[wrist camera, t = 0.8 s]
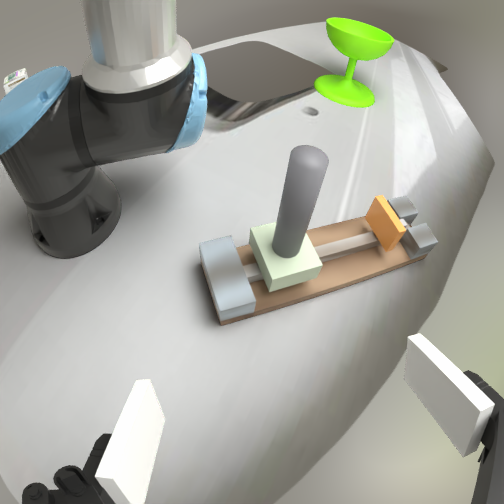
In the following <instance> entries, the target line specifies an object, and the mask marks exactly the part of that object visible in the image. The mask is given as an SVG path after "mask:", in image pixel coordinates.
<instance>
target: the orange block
mask: <svg viewBox="0 0 504 504" xmlns="http://www.w3.org/2000/svg"><path fill="white" fill-rule="evenodd" d="M365 219H366V221H367V222H368V224H369V225H370V227H371V229H372V230H373V232H374V233H375V235H376V237H377V238H378V240H379V242H380V243H381V245H382V247H383V248H384V250H385V252H388V251H391V250H393V249H394V247H395V246H396V244H397V243H398V242H399V240H400V239H401V237H402V236H403V234H404V233H405V232H406V229H405V228H406V227H407V223H406V222H405V220H404V219H400V220H399V218H398V217H397V215H396V214H395V212H394V211H393V210H392V208H391V207H390V205H389V204H388V202H387V201H386V199H385V198H384V197H383V195H380V196H376V197H375V199H374V201H373V203H372V205H371V207H370V209H369V211H368V212H367V214H366V216H365Z"/></svg>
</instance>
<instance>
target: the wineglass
mask: <svg viewBox="0 0 504 504" xmlns="http://www.w3.org/2000/svg"><path fill="white" fill-rule="evenodd" d="M326 30H327V34H328V37H329V39H330V40H331V42H332V44H333V45H334V46H335V47H336V48H337V49H338V50H339V51H340V52H341V53H342V54H344V55H346V56H348V57H350V58H349V62H348V65H347V69H346V73H345V76H340V75H323V76H320V77H319V78H317V79H316V80H315V82H314V87H315V89H316V90H317V91H318V92H319V93H320V94H322V95H323V96H324V97H326V98H328V99H330V100H332V101H334V102H337V103H339V104H343V105H346V106H351V107H362V108H363V107H369V106H371V105H373V104H374V102H375V98H374V95H373V93H372V91H371V90H370V89H369V88H368V87H366V86H365V85H364V84H362V83H360V82H358V81H356V80H354V79H352V77H353V73H354V70H355V66H356V62H357V60H364V61H368V60H373V59H377V58H379V57H381V56H383V55H385V54H386V52H387V51H388V50H389V49H390V48H391V47H392V45H393V42H394V39H393V37H392V36H390V35H389V34H387V33H386V32H384V31H382V30H380V29H378V28H376V27H373V26H371V25H368V24H365V23H362V22H359V21H355V20H350V19H344V18H329V19H327V21H326Z"/></svg>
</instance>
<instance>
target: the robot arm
mask: <svg viewBox="0 0 504 504" xmlns="http://www.w3.org/2000/svg"><path fill="white" fill-rule="evenodd" d="M80 1H81V6H82V12H83V17H84V21H85V26H86V31H87V35H88V40H89V44H90V48H91V52H92V53H91V54H90V56H89V57H88V58H87V60H86V61H85V63H84V65H83V68H82V75H79V76H75V77H71V74H70V71H68V70H67V68H66V67H64V66H59V67H56V66H55V67H51V68H48V69H45V70H43V71H41V72H38V73H36V74H34V75H33V76H31V77H29V78H28V79H26V80H24V81H23V82H21V83H20V84H19V85H17V86H16V87H15V88H13V89H12V90H11V91H10V92H9V93H8V94H7V95H5V96H4V98H3V99H2V100H1V101H0V160H1V162H2V164H3V166H4V168H5V169H6V171H7V173H8V175H9V177H10V178H11V180H12V182H13V183H14V185H15V187H16V189H17V190H18V192H19V194H20V195H21V197H22V198H23V200H24V202H25V204H26V206H27V211H28V216H29V221H30V226H31V231H32V234H33V236H34V238H35V240H36V241H37V243H38V244H39V246H40V247H41V248H42V249H43V250H44V251H45V252H46V253H47V254H49V255H51V256H54V257H58V258H71V257H76V256H79V255H82V254H85V253H87V252H89V251H91V250H92V249H94V248H96V247H97V246H98V245H100V244H101V243H102V242H103V241H104V240H105V239H106V238H107V237H108V236H109V235H110V234H111V232H112V231H113V230H114V228H115V226H116V225H117V223H118V220H119V217H120V214H121V200H120V197H119V194H118V191H117V189H116V187H115V185H114V183H113V182H112V181H111V180H110V179H109V177H108V176H107V175H106V174H105V173H104V172H103V171H102V170H101V169H100V168H99V167H98V165H103V164H108V163H112V162H117V161H122V160H127V159H133V158H138V157H143V156H149V155H155V154H161V153H169V152H171V151H173V150H176V149H181V148H185V147H189V146H191V145H193V144H195V143H196V142H197V141H198V139H199V138H200V136H201V134H202V132H203V128H204V124H205V118H206V110H207V98H206V93H207V75H206V68H205V64H204V61H203V58H202V57H201V56H200V55H199V54H194V53H192V49H191V46H190V44H189V43H188V41H187V40H186V39H184V38H183V37H181V36H179V35H178V34H177V32H176V0H80ZM404 380H405V381H406V382H407V384H408V385H409V386H410V388H411V389H412V390H413V392H414V393H415V394H416V395H417V397H418V398H419V399H420V401H421V402H422V403H423V405H424V406H425V407H426V408H427V410H428V411H429V412H430V414H431V415H432V416H433V418H434V419H435V420H436V422H437V423H438V424H439V426H440V427H441V428H442V430H443V431H444V432H445V434H446V435H447V436H448V438H449V439H450V440H451V442H452V443H453V444H454V446H455V447H456V449H457V450H458V451H459V453H460V454H461V455H462V457H465V456H467V455H469V454H470V453H473V452H475V451H476V450H477V448H478V446H479V443H480V441H481V442H482V443H483V444H484V445H485V447H484V449H483V451H482V453H481V455H480V458H479V460H478V462H480V460H481V463H480V468H479V473H478V477H477V482H476V486H475V490H474V495H473V498H472V502H471V504H504V399H503V398H502V397H501V396H500V395H499V394H498V393H497V392H496V391H495V390H494V389H493V388H491V386H489V385H488V384H487V383H486V382H485V381H483V379H482V378H481V377H479V375H477V374H475V373H473V372H471V371H469V370H468V371H466V372H463V373H462V372H461V371H460V370H459V369H458V368H457V367H456V366H455V365H454V364H453V363H451V361H450V360H449V359H447V358H446V357H445V356H444V355H443V354H442V353H441V352H440V351H439V350H438V349H437V348H436V347H434V346H433V345H432V344H431V343H430V342H429V341H428V340H427V339H426V338H425V337H424V336H422V335H421V334H420V333H419V334H416V335H412V336H409V337H408V341H407V355H406V364H405V375H404ZM164 423H165V417H164V414H163V412H162V409H161V407H160V404H159V401H158V399H157V396H156V393H155V391H154V388H153V385H152V382H151V380H150V379H144V380H136V382H135V384H134V386H133V389H132V391H131V393H130V395H129V397H128V400H127V402H126V404H125V406H124V409H123V411H122V413H121V415H120V418H119V420H118V422H117V424H116V427H115V429H114V431H113V434H103V435H102V436H101V437H99V438H98V439H97V440H96V442H95V444H94V447H93V450H92V451H91V453H90V457H88V460H87V462H86V464H85V466H84V468H83V471H82V470H81V469H80V468H79V467H76V466H71V465H69V466H65V467H62V468H61V469H59V470H58V471H57V472H56V473H55V475H54V478H53V479H54V483H55V485H56V486H57V487H58V488H59V490H48V489H47V487H46V486H45V485H44V484H41V483H32V484H30V485H28V486H27V487H26V488H25V489H24V490H23V494H22V504H144V503H145V499H146V494H147V490H148V486H149V482H150V478H151V474H152V470H153V466H154V462H155V458H156V454H157V450H158V446H159V442H160V438H161V434H162V430H163V427H164Z"/></svg>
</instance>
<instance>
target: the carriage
mask: <svg viewBox="0 0 504 504" xmlns="http://www.w3.org/2000/svg"><path fill="white" fill-rule="evenodd" d="M328 163H329V159H328V157H327V155H326V154H325V153H324V152H323V151H322V150H320V149H318V148H316V147H313V146H309V145H301V146H297V147H295V148H294V149H293V150H292V151H291V154H290V159H289V164H288V169H287V174H286V179H285V184H284V189H283V194H282V199H281V203H280V208H279V213H278V218H277V222H274V223H270V224H265V225H261V226H257V227H253V228H251V229H250V239H249V244H250V246H251V249H252V251H253V254H254V256H255V259H256V261H257V263H258V266H259V268H260V271H261V273H262V276H263V278H264V281H265V283H266V286H267V288H268V290H269V292H272V291H275V290H278V289H282V288H285V287H289V286H292V285H295V284H299V283H302V282H305V281H308V280H312V279H315V278H317V276H318V274H319V272H320V270H321V268H322V266H323V265H322V263H321V261H320V259H319V257H318V255H317V253H316V251H315V249H314V247H313V245H312V243H311V241H310V239H309V237H308V235H307V233H306V231H307V228H308V225H309V222H310V219H311V216H312V213H313V210H314V207H315V204H316V201H317V198H318V195H319V192H320V188H321V185H322V182H323V179H324V176H325V173H326V170H327V166H328Z"/></svg>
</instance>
